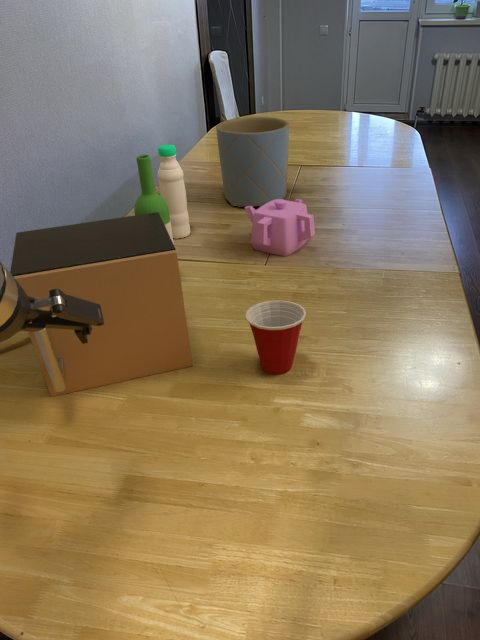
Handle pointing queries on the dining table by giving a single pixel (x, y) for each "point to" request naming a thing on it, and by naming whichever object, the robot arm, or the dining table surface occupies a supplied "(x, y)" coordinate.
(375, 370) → the dining table surface
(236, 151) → the planter
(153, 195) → the wine bottle
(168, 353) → the freezer door
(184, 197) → the water bottle
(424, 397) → the dining table surface
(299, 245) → the teakettle
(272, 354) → the plastic cup
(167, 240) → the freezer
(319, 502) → the dining table surface
